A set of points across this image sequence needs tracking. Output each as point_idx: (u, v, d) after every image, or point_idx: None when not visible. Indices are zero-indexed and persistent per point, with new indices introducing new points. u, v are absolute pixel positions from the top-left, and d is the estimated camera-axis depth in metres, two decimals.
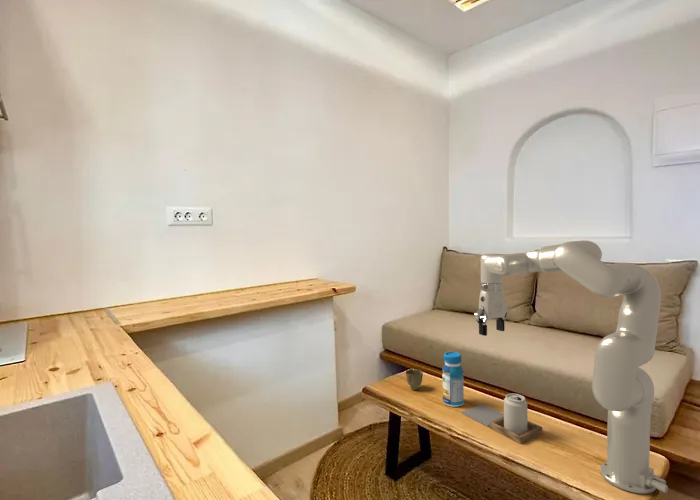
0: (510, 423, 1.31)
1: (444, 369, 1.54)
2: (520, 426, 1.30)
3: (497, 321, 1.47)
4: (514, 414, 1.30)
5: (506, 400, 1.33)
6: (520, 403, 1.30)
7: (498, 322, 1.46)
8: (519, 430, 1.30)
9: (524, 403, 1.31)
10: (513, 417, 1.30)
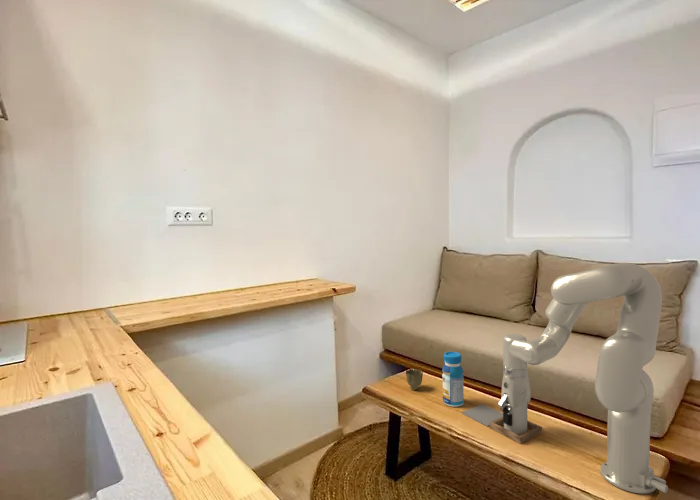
0: None
1: (444, 369, 1.54)
2: (520, 426, 1.30)
3: None
4: (514, 414, 1.30)
5: None
6: (520, 403, 1.30)
7: None
8: (518, 429, 1.30)
9: (524, 403, 1.31)
10: (513, 417, 1.30)
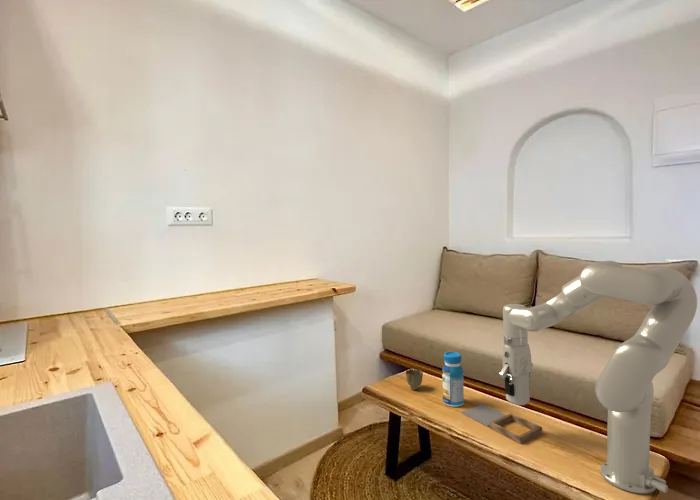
0: None
1: (444, 369, 1.54)
2: (522, 396, 1.29)
3: None
4: (516, 384, 1.29)
5: None
6: None
7: None
8: (521, 399, 1.29)
9: (525, 372, 1.30)
10: (514, 387, 1.29)
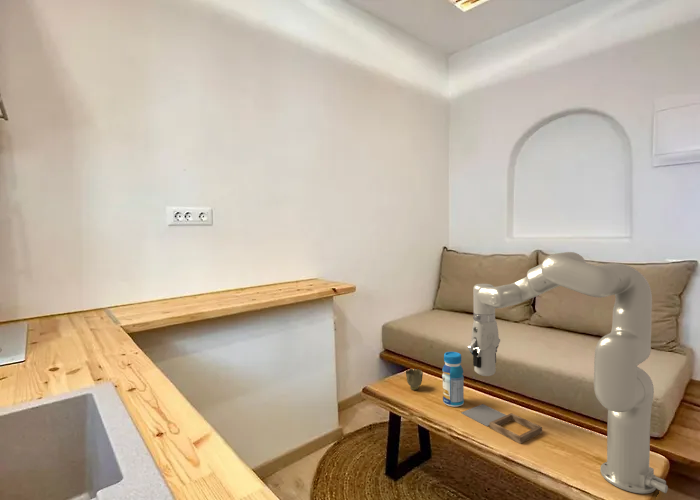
0: None
1: (444, 369, 1.54)
2: (488, 368, 1.40)
3: None
4: (483, 356, 1.40)
5: None
6: None
7: None
8: (487, 371, 1.40)
9: (492, 346, 1.41)
10: (481, 359, 1.40)
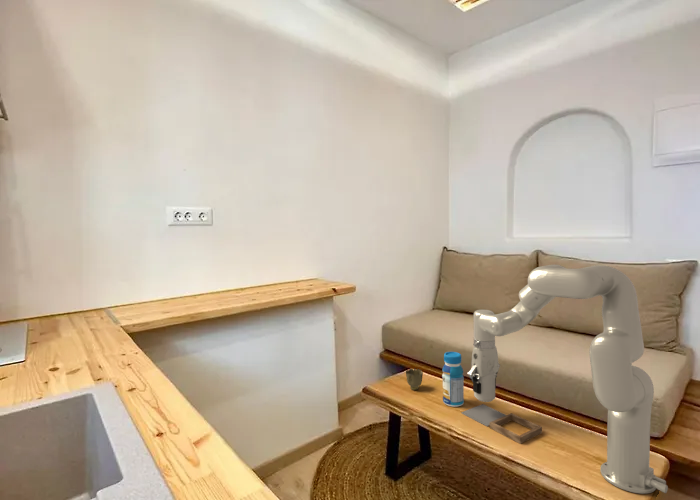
0: None
1: (444, 369, 1.54)
2: (488, 394, 1.41)
3: None
4: (483, 383, 1.41)
5: None
6: None
7: None
8: (487, 397, 1.41)
9: (492, 372, 1.41)
10: (481, 385, 1.41)
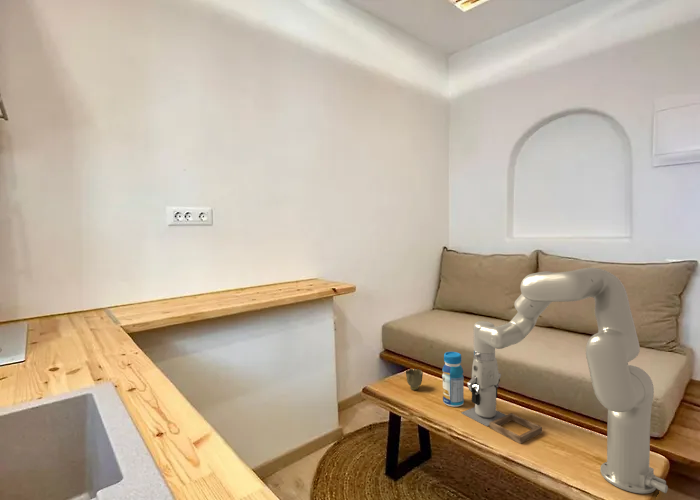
0: (479, 408, 1.42)
1: (444, 369, 1.54)
2: (489, 410, 1.41)
3: None
4: (484, 399, 1.41)
5: None
6: (489, 389, 1.41)
7: None
8: (488, 413, 1.41)
9: (493, 389, 1.41)
10: (482, 402, 1.41)
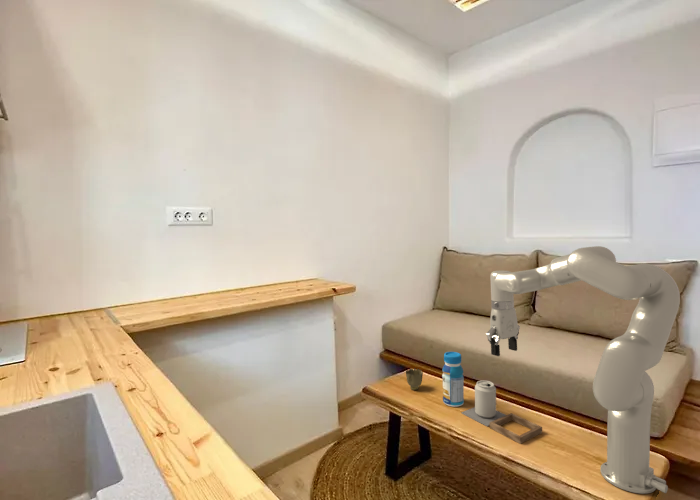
0: (479, 408, 1.42)
1: (444, 369, 1.54)
2: (489, 410, 1.41)
3: (509, 340, 1.42)
4: (484, 399, 1.41)
5: (476, 386, 1.44)
6: (489, 389, 1.41)
7: (510, 341, 1.42)
8: (487, 413, 1.41)
9: (493, 389, 1.42)
10: (482, 402, 1.41)
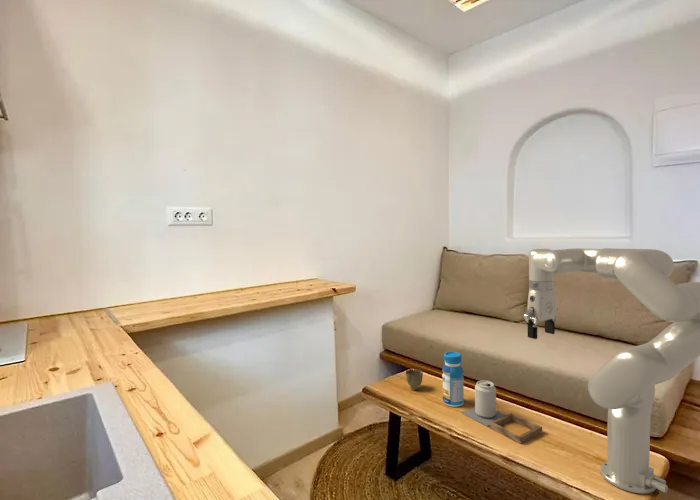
0: (479, 408, 1.42)
1: (444, 369, 1.54)
2: (489, 410, 1.41)
3: (546, 323, 1.34)
4: (484, 399, 1.41)
5: (476, 386, 1.44)
6: (489, 389, 1.41)
7: (547, 324, 1.34)
8: (487, 413, 1.41)
9: (493, 389, 1.42)
10: (482, 402, 1.41)
